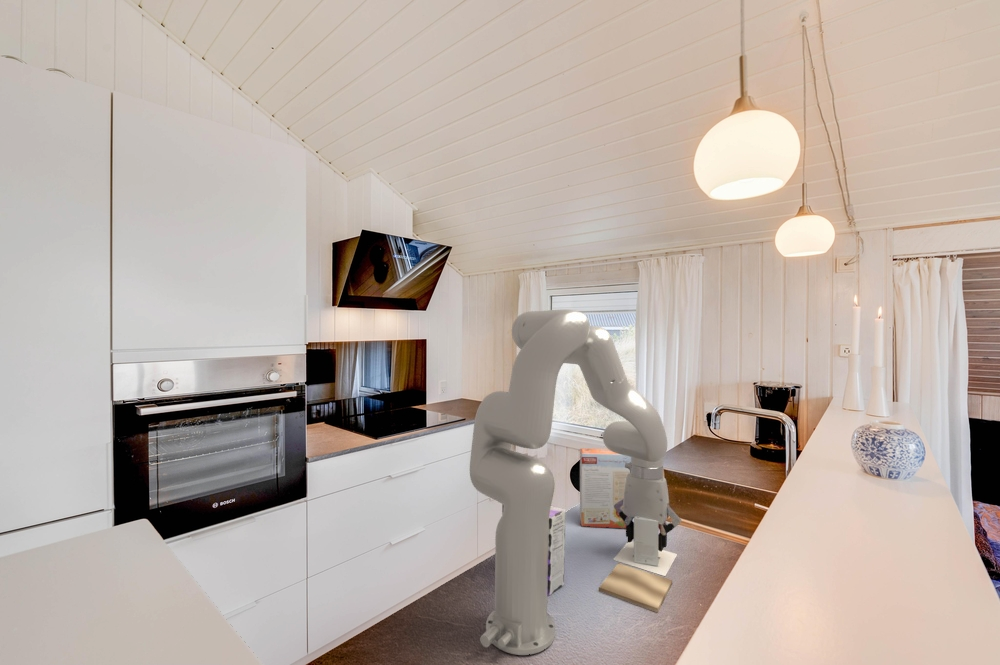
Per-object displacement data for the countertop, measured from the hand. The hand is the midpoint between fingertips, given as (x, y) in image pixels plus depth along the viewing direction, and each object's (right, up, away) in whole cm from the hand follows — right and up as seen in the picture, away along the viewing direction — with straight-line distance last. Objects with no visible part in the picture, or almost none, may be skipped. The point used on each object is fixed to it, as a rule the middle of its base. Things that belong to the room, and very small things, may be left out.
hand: (645, 543), depth 105 cm
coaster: (-6, -3, -13) cm, 14 cm away
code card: (0, -3, 0) cm, 3 cm away
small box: (0, -3, 0) cm, 3 cm away
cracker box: (-6, -3, +18) cm, 20 cm away
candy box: (-28, -3, -10) cm, 30 cm away
